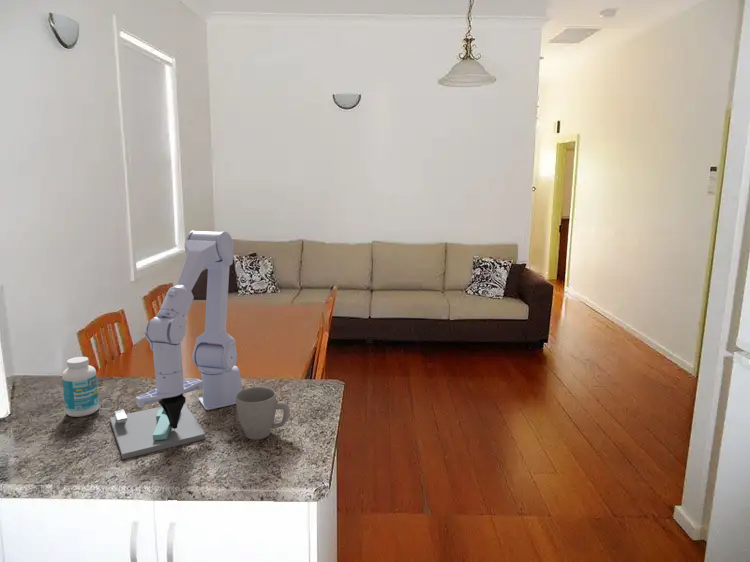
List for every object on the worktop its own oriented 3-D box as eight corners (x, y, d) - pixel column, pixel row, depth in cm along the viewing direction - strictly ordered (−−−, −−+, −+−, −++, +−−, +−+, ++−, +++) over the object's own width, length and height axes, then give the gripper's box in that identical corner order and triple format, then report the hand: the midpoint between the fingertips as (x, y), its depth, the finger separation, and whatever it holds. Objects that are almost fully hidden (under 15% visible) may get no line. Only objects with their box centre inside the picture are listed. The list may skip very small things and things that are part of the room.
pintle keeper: (170, 414, 136) (169, 399, 135) (175, 422, 131) (173, 407, 131) (115, 426, 130) (114, 411, 129) (119, 435, 125) (117, 419, 124)
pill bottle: (76, 420, 133) (70, 367, 130) (59, 413, 136) (53, 361, 134) (106, 409, 139) (100, 358, 136) (88, 402, 143) (83, 352, 140)
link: (160, 412, 134) (159, 407, 133) (180, 410, 135) (180, 405, 134) (148, 440, 120) (147, 435, 120) (171, 438, 121) (171, 433, 121)
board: (184, 406, 141) (183, 401, 140) (205, 438, 124) (205, 433, 124) (110, 422, 132) (109, 417, 132) (122, 459, 115) (122, 454, 115)
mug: (231, 441, 123) (229, 401, 121) (246, 423, 131) (244, 385, 129) (284, 446, 121) (282, 404, 119) (295, 427, 129) (294, 388, 127)
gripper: (191, 357, 130) (195, 411, 133) (128, 373, 120) (133, 431, 123) (205, 365, 125) (209, 421, 128) (141, 382, 115) (147, 442, 118)
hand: (173, 427), depth 125 cm, fingers closed, pressing on link
